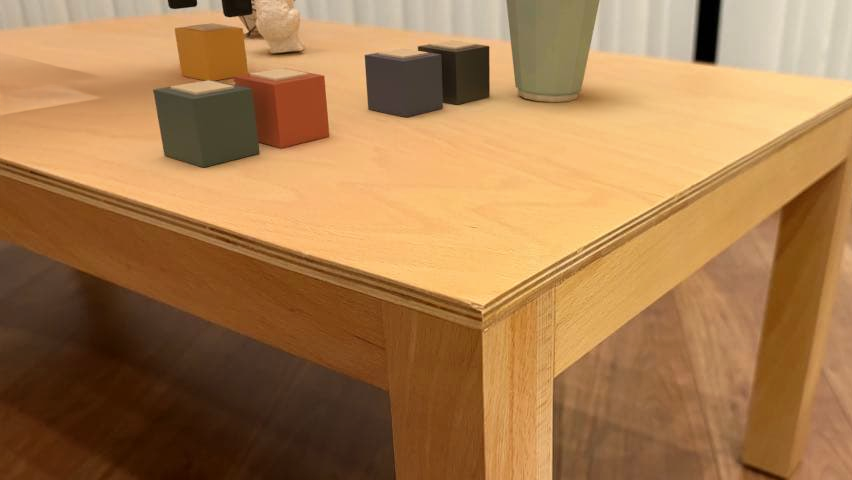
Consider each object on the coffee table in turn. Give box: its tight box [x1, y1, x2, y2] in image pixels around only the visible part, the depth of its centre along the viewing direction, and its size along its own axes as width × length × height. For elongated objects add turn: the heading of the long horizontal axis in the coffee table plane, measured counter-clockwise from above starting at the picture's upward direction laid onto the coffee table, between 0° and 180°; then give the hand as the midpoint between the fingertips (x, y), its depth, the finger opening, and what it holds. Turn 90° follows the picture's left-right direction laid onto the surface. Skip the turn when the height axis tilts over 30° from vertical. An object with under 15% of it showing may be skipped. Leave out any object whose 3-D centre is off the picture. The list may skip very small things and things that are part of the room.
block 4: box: [417, 40, 491, 106], centre depth 85 cm, size 5×5×5 cm
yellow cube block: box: [174, 22, 249, 81], centre depth 93 cm, size 5×5×5 cm
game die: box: [237, 0, 296, 39], centre depth 119 cm, size 9×8×10 cm
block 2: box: [234, 67, 330, 149], centre depth 70 cm, size 5×5×5 cm
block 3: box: [364, 48, 444, 118], centre depth 80 cm, size 5×5×5 cm
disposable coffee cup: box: [505, 0, 601, 103], centre depth 85 cm, size 11×11×15 cm
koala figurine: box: [254, 0, 306, 54], centre depth 106 cm, size 8×7×12 cm
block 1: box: [152, 80, 261, 168], centre depth 65 cm, size 5×5×5 cm
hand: (210, 11), depth 92 cm, fingers open, 9 cm apart
